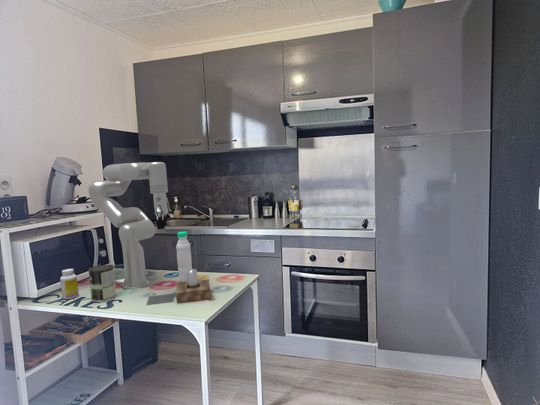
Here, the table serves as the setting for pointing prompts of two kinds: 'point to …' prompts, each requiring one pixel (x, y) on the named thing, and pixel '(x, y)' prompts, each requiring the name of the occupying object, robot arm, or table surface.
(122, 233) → the robot arm
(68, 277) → the supplement bottle
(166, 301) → the rubber mat
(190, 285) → the steel peg
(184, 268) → the water bottle
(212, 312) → the table surface
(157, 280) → the table surface
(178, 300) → the brown peg hole board
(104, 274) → the coffee can
